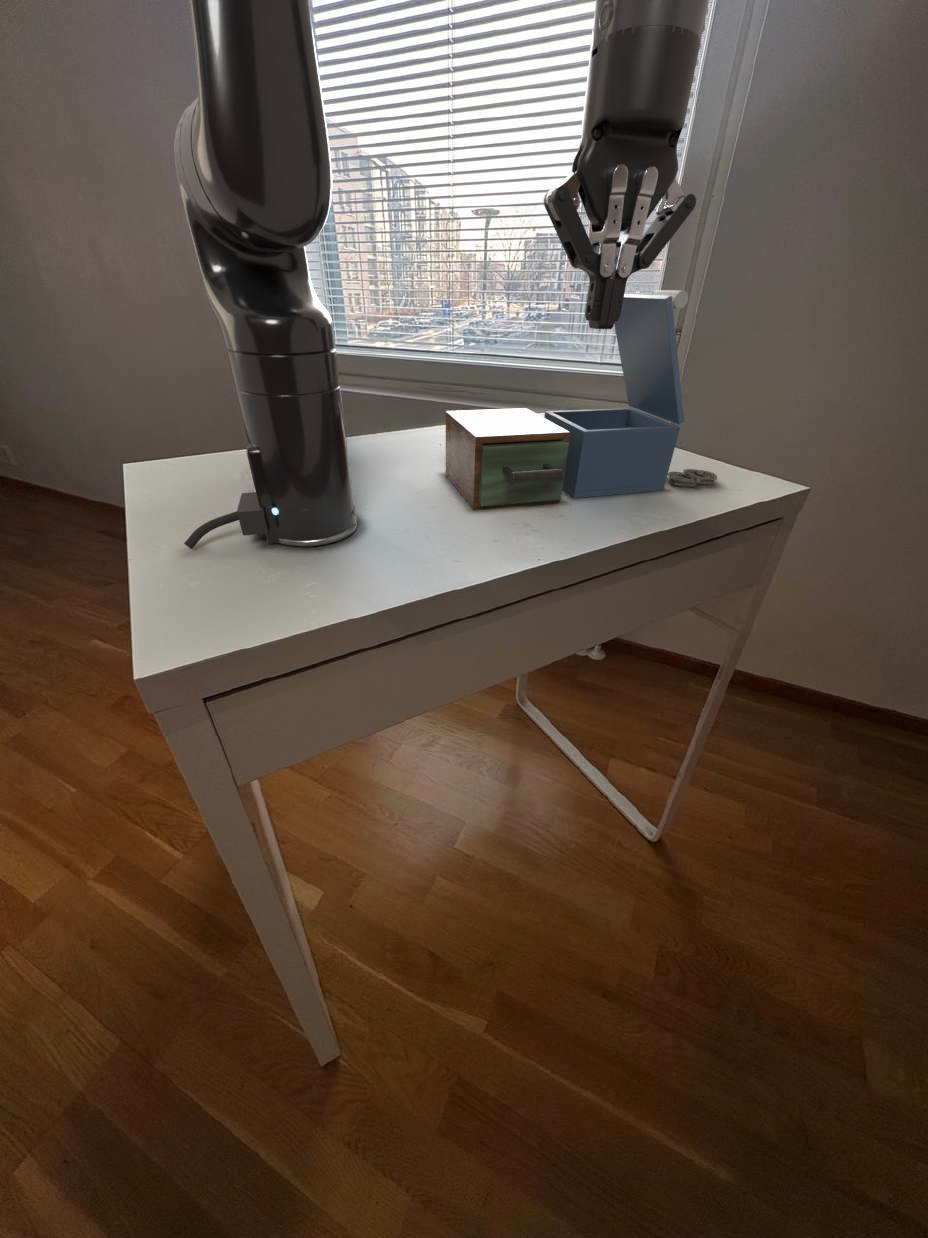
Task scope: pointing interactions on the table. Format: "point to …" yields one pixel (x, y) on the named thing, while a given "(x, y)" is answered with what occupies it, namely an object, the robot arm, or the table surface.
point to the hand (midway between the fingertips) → (600, 328)
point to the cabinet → (490, 427)
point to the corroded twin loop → (691, 477)
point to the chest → (615, 451)
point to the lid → (651, 352)
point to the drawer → (521, 472)
